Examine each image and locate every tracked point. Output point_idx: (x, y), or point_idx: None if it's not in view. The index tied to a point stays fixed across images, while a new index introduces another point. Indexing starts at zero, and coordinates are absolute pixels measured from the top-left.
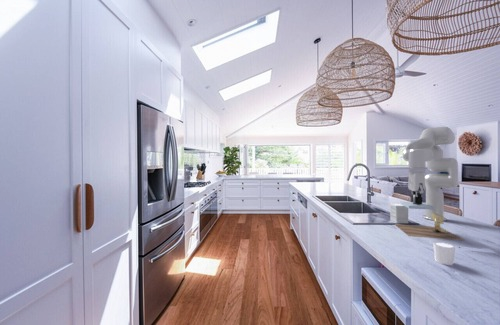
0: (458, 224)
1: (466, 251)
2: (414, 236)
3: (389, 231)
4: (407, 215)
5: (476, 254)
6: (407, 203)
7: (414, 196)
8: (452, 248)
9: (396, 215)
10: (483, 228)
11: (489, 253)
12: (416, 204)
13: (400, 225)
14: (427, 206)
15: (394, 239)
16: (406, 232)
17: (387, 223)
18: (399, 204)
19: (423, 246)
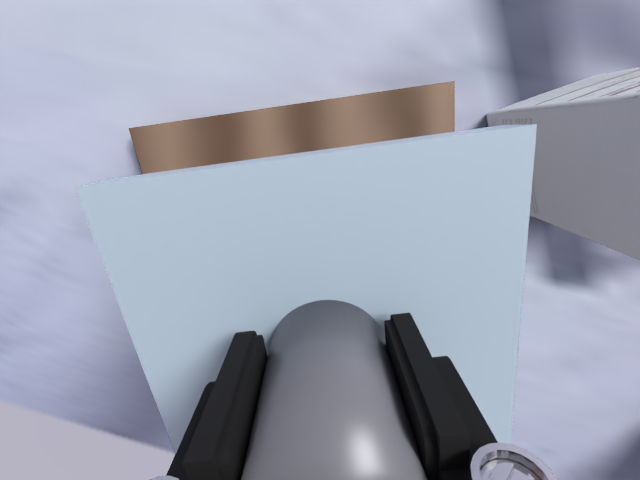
0: (588, 470)
1: (83, 354)
2: (141, 166)
3: (271, 12)
4: (555, 219)
5: (64, 376)
6: (327, 214)
7: (270, 449)
8: None
9: (544, 107)
10: None
11: (114, 421)
12: (272, 335)
13: (420, 129)
14: (168, 430)
15: (61, 15)
16: (217, 132)
17: (538, 41)
18: None
19: (27, 182)
